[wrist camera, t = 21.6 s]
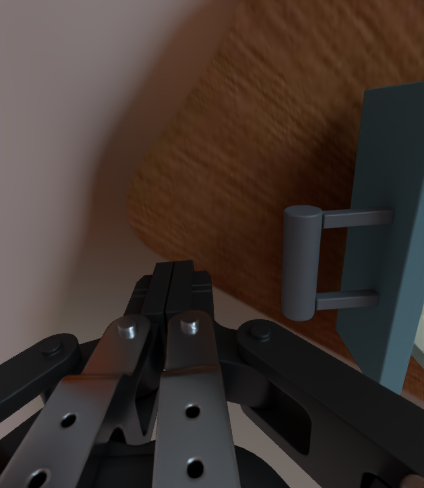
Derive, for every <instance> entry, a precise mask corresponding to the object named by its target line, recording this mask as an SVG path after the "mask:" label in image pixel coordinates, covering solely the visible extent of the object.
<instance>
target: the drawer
mask: <svg viewBox="0 0 424 488" xmlns="http://www.w3.org/2000/svg"><path fill="white" fill-rule="evenodd" d="M321 227H322V228H323V229H327V228H340V227H348V231H347V240H346V248H345V256H344V264H343V273H342V281H341V289H340V291H337V292H324V293H316V287H317V275H318V263H319V251H320V239H321ZM315 309H316V310H328V309H338V314H337V322H336V331H337V333H338V334H339V336H340V337H341V339H342V341H343V342H344V344H345V345H346V347H347V349H348V350H349V352H350V353H351V355H352V357H353V358H354V360H355V362H356V363H357V365H358V366H359V368H360V370H361V371H362V373H363V374H364V375H365V376H367V377H369V378H371V379H372V380H374V381H376V382H377V383H379V384H381V385H383V386H384V387H386V388H388V389H390V390H391V391H393V392H395V393H396V394H400V393H401V390H402V387H403V383H404V379H405V375H406V371H407V367H408V363H409V360H410V356H411V355H412V356H413V357H414V359H415V360H416V361H417V362H418V363H419V364H420V365H421V367H422V368H423V369H424V81H419V82H412V83H406V84H399V85H393V86H386V87H379V88H373V89H366V90H365V91H364V99H363V107H362V116H361V124H360V132H359V140H358V149H357V157H356V165H355V174H354V182H353V190H352V198H351V207H350V209H343V210H330V211H322V210H321V209H320V208H318V207H315V206H310V205H295V206H290V207H287V208H286V209H285V210H284V217H283V254H282V291H281V311H282V313H283V315H284V316H285V317H286V318H288V319H290V320H293V321H307V320H309V319H311V318H312V317H313V315H314V312H315Z"/></svg>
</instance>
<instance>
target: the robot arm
mask: <svg viewBox="0 0 424 488" xmlns="http://www.w3.org/2000/svg"><path fill="white" fill-rule="evenodd" d="M164 369H165V371H163V370H164ZM38 395H40V396H41V398H42V401H43V403H44V405H45V406H44V407H43V408H42V409H40V410H39V411H38V412H36V413H35V414H34V415H32V416H31V417H30V418H28V419H27V420H26V421H25V422H23V423H22V424H21V425H19V426H18V427H17V428H15V429H14V430H13V431H11V432H10V433H9V434H7V435H6V436H5V437H3V438H2V439H1V440H0V488H290V487H289V486H288V485H287V484H286V482H285V481H284V480H283V479H282V478H281V477H280V476H279V475H278V474H277V473H276V471H275V470H274V469H273V468H272V467H270V466H269V465H268V464H267V463H266V462H265V461H264V460H262V459H261V458H260V457H258V456H256V455H255V454H254V453H252V452H250V451H248V450H246V449H244V448H242V447H239V446H236V445H234V442H233V436H232V430H231V424H230V418H229V412H228V406H227V401H229V402H233V403H237V404H240V405H241V408H242V410H243V412H244V413H245V414H246V416H248V417H249V418H250V419H251V420H252V421H253V422H254V423H255V424H256V425H257V426H258V427H259V428H260V429H261V430H262V431H263V432H264V433H265V434H266V435H267V436H269V438H271V439H272V440H273V441H274V442H275V443H276V444H277V445H278V446H279V447H280V448H281V449H282V450H283V451H284V452H285V453H286V454H287V455H288V456H289V457H290V458H291V459H292V460H293V461H295V462H296V463H297V464H298V465H299V466H300V467H301V468H302V469H303V470H304V471H305V472H306V473H307V474H308V475H309V476H310V477H311V478H312V479H313V480H315V481H316V482H317V483H318V484H319V485H320V486H321V487H322V488H424V409H422V408H420V407H418V406H417V405H415V404H413V403H412V402H410V401H408V400H407V399H405V398H403V397H402V396H400V395H398V394H396V393H395V392H393V391H391V390H390V389H388V388H386V387H384V386H383V385H381V384H379V383H377V382H376V381H374V380H372V379H371V378H369V377H367V376H365V375H364V374H362V373H360V372H359V371H357V370H355V369H353V368H352V367H350V366H348V365H347V364H345V363H343V362H341V361H340V360H338V359H336V358H335V357H333V356H331V355H329V354H328V353H326V352H324V351H323V350H321V349H319V348H317V347H316V346H314V345H312V344H311V343H309V342H307V341H305V340H304V339H302V338H300V337H299V336H297V335H295V334H293V333H292V332H290V331H288V330H287V329H285V328H283V327H281V326H280V325H278V324H276V323H274V322H272V321H269V320H263V319H256V320H250V321H247V322H245V323H243V324H242V325H241V326H240V327H239V328H238V330H234V329H228V328H226V327H223V326H221V325H220V324H218V323H217V322H216V321H215V320H214V305H213V294H212V281H211V276H210V275H209V274H208V272H207V271H194V264H193V260H186V261H175V262H162V263H156V266H155V269H154V272H153V275H145V276H143V277H142V278H141V279H140V280H139V281H138V282H137V283H136V286H135V288H134V291H133V293H132V296H131V298H130V301H129V303H128V306H127V308H126V311H125V313H124V316H123V317H120V318H118V319H116V320H115V321H113V322H112V323H111V324H110V325H109V326H108V327H107V329H106V330H105V332H104V334H103V336H102V337H101V338H100V339H97V340H93V341H89V342H86V343H83V344H79V343H78V340H77V338H76V337H75V336H74V335H72V334H67V333H62V334H56V335H53V336H50V337H48V338H45V339H43V340H42V341H40V342H38V343H36V344H35V345H33V346H32V347H30V348H28V349H26V350H25V351H23V352H21V353H19V354H18V355H16V356H14V357H13V358H11V359H9V360H8V361H6V362H4V363H2V364H1V365H0V422H2V421H4V420H5V419H6V418H8V417H9V416H11V415H12V414H13V413H15V412H16V411H17V410H19V409H20V408H22V407H23V406H24V405H26V404H27V403H28V402H30V401H31V400H33V399H34V398H36V397H37V396H38ZM157 412H158V417H157V429H156V440H153V441H151V437H152V433H153V429H154V424H155V420H156V416H157Z"/></svg>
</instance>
